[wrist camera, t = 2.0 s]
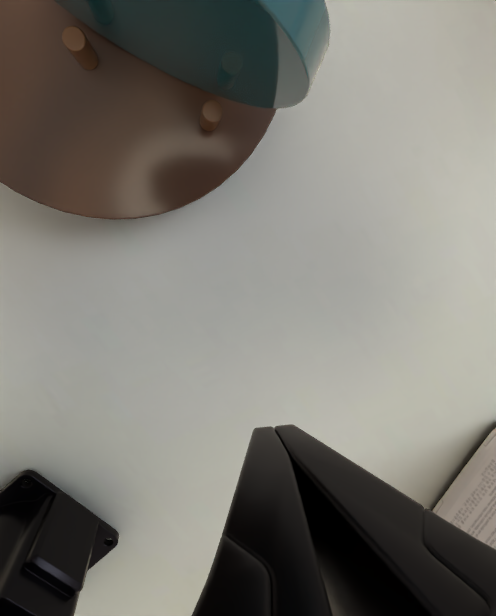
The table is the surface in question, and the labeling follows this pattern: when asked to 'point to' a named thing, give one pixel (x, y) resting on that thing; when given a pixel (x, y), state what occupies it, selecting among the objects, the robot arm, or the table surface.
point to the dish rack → (145, 95)
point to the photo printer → (474, 495)
